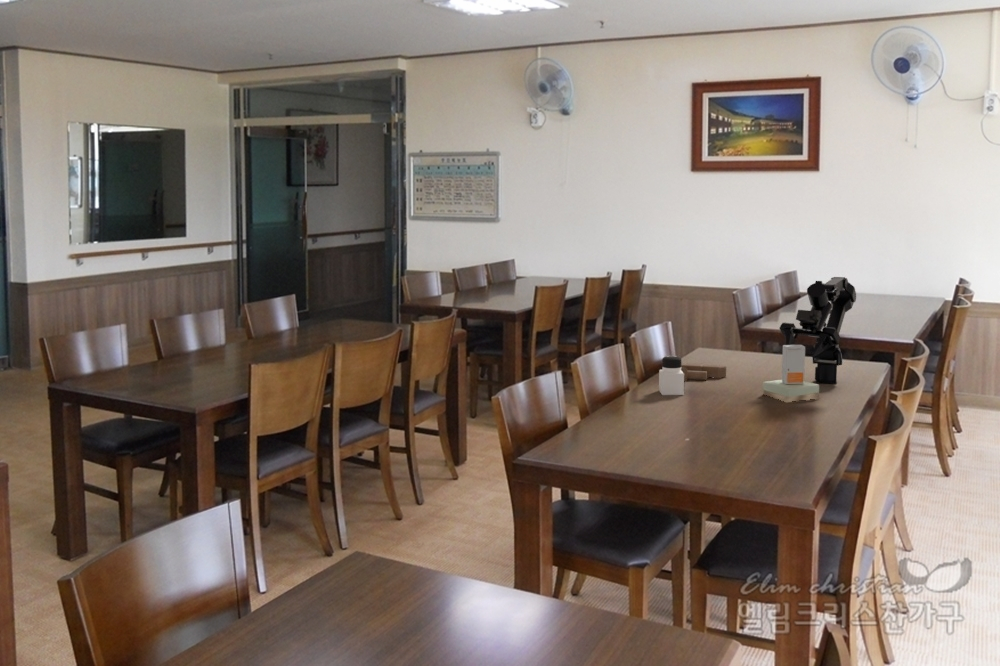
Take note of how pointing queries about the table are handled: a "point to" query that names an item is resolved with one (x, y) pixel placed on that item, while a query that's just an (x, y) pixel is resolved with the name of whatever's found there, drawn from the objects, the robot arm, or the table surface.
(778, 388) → the top slab
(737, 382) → the table surface
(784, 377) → the skincare box
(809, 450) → the table surface
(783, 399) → the bottom slab
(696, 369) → the wooden block set
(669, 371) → the medicine bottle
